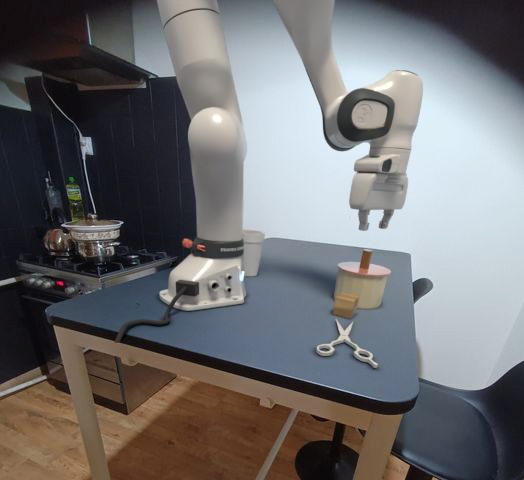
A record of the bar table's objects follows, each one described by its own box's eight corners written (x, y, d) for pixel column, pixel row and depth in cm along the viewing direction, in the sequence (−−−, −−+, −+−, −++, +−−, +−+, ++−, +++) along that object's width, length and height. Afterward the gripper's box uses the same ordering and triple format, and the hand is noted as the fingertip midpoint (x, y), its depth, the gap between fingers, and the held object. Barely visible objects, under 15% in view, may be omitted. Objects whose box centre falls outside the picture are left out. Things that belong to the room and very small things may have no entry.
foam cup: (263, 271, 108) (266, 231, 102) (260, 278, 100) (263, 235, 94) (235, 268, 109) (237, 228, 102) (230, 275, 100) (231, 232, 94)
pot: (364, 312, 79) (372, 278, 75) (324, 297, 87) (329, 267, 83) (389, 303, 87) (397, 272, 83) (350, 290, 95) (356, 262, 91)
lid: (372, 282, 75) (378, 258, 72) (326, 269, 84) (330, 247, 81) (399, 274, 84) (405, 253, 81) (355, 263, 92) (359, 243, 89)
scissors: (315, 355, 56) (321, 314, 73) (315, 358, 56) (320, 317, 73) (377, 365, 54) (368, 321, 71) (376, 369, 54) (367, 324, 72)
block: (349, 318, 75) (353, 301, 73) (332, 314, 77) (335, 296, 75) (355, 313, 78) (359, 296, 76) (338, 309, 80) (341, 292, 78)
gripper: (395, 168, 80) (382, 226, 87) (350, 161, 68) (339, 229, 74) (419, 168, 76) (404, 229, 83) (376, 161, 64) (362, 233, 70)
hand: (373, 229), depth 79 cm, fingers open, 8 cm apart
